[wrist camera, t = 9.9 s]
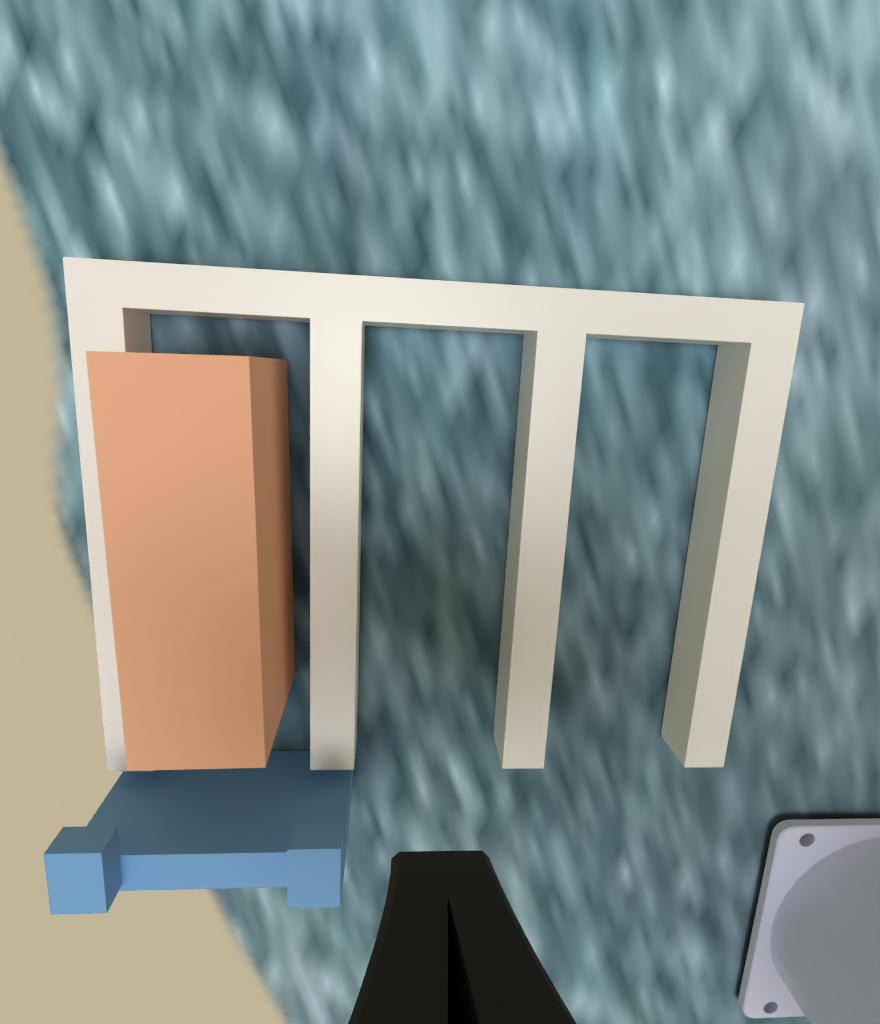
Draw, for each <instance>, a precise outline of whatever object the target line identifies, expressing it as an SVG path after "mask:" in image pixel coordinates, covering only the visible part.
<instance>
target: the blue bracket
mask: <svg viewBox="0 0 880 1024" xmlns="http://www.w3.org/2000/svg"><path fill="white" fill-rule="evenodd" d="M352 784H353V770H310V751H271V752H270V755H269V758H268V761H267V764H266V768H229V769H185V770H154V771H123V773H122V774H121V776H120V777H119V779H118V780H117V782H116V783H115V785H114V786H113V788H112V789H111V791H110V792H109V794H108V795H107V797H106V798H105V799H104V801H103V802H102V804H101V805H100V807H99V808H98V810H97V811H96V813H95V815H94V816H93V817H92V819H91V820H90V822H89V823H88V825H87V827H63V828H62V829H61V831H60V832H59V834H58V835H57V836H56V838H55V839H54V840H53V842H52V843H51V845H50V846H49V848H48V849H47V850H46V852H45V853H44V860H45V869H46V877H47V886H48V894H49V903H50V911H51V915H52V914H87V913H88V914H92V913H107V912H108V910H109V908H110V906H111V904H112V902H113V900H114V898H115V897H116V895H117V893H118V891H134V890H176V889H221V888H264V887H287V904H288V908H322V907H340V902H341V892H342V886H343V877H344V867H345V857H346V846H347V836H348V826H349V815H350V805H351V794H352Z"/></svg>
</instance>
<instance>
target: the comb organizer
mask: <svg viewBox="0 0 880 1024" xmlns="http://www.w3.org/2000/svg"><path fill="white" fill-rule="evenodd" d="M63 264H64V276H65V288H66V299H67V311H68V322H69V334H70V345H71V357H72V368H73V380H74V391H75V403H76V415H77V426H78V438H79V449H80V461H81V472H82V484H83V495H84V507H85V519H86V530H87V542H88V553H89V565H90V576H91V588H92V599H93V611H94V623H95V634H96V646H97V656H98V668H99V680H100V691H101V703H102V715H103V726H104V738H105V750H106V761H107V771H127V763H126V753H125V743H124V733H123V723H122V712H121V702H120V692H119V682H118V672H117V662H116V652H115V642H114V632H113V622H112V612H111V602H110V592H109V582H108V572H107V562H106V552H105V542H104V531H103V521H102V511H101V501H100V491H99V481H98V471H97V461H96V451H95V441H94V431H93V421H92V411H91V401H90V391H89V381H88V371H87V361H86V351H104V352H135V353H152V342H151V325H150V314H162V315H180V316H198V317H216V318H234V319H252V320H270V321H288V322H306V323H310V770H354V763H355V752H356V742H357V714H358V662H359V610H360V558H361V506H362V454H363V402H364V350H365V326H378V327H396V328H414V329H433V330H451V331H469V332H487V333H505V334H523V335H524V338H523V351H522V364H521V377H520V390H519V403H518V417H517V430H516V443H515V456H514V469H513V482H512V495H511V508H510V522H509V535H508V548H507V561H506V574H505V587H504V600H503V613H502V626H501V640H500V653H499V666H498V679H497V692H496V705H495V718H494V731H493V737H494V740H495V744H496V748H497V751H498V755H499V759H500V762H501V766H502V769H516V768H544V759H545V748H546V738H547V728H548V718H549V708H550V698H551V688H552V677H553V667H554V657H555V647H556V637H557V627H558V617H559V607H560V596H561V586H562V576H563V566H564V556H565V546H566V536H567V525H568V515H569V505H570V495H571V485H572V475H573V465H574V455H575V444H576V434H577V424H578V414H579V404H580V394H581V384H582V373H583V363H584V353H585V343H586V338H595V339H613V340H631V341H649V342H667V343H685V344H703V345H718V347H717V354H716V361H715V368H714V375H713V382H712V388H711V395H710V402H709V409H708V416H707V423H706V429H705V436H704V443H703V450H702V457H701V463H700V470H699V477H698V484H697V491H696V498H695V504H694V511H693V518H692V525H691V532H690V539H689V545H688V552H687V559H686V566H685V573H684V580H683V586H682V593H681V600H680V607H679V614H678V621H677V627H676V634H675V641H674V648H673V655H672V662H671V668H670V675H669V682H668V689H667V696H666V703H665V709H664V716H663V723H662V730H661V736H662V738H663V739H664V740H665V742H666V743H667V744H668V746H669V747H670V749H671V750H672V751H673V753H674V754H675V755H676V757H677V758H678V759H679V761H680V762H681V764H682V765H683V766H684V767H724V761H725V755H726V750H727V744H728V738H729V732H730V727H731V721H732V715H733V710H734V704H735V698H736V692H737V687H738V681H739V675H740V670H741V664H742V658H743V652H744V647H745V641H746V635H747V630H748V624H749V618H750V612H751V607H752V601H753V595H754V590H755V584H756V578H757V572H758V567H759V561H760V555H761V550H762V544H763V538H764V532H765V527H766V521H767V515H768V510H769V504H770V498H771V492H772V487H773V481H774V475H775V469H776V464H777V458H778V452H779V447H780V441H781V435H782V429H783V424H784V418H785V412H786V407H787V401H788V395H789V389H790V384H791V378H792V372H793V367H794V361H795V355H796V349H797V344H798V338H799V332H800V327H801V321H802V315H803V309H804V304H805V303H793V302H777V301H761V300H745V299H729V298H713V297H697V296H681V295H665V294H648V293H632V292H616V291H600V290H584V289H568V288H552V287H536V286H520V285H504V284H488V283H472V282H456V281H440V280H424V279H408V278H392V277H376V276H360V275H344V274H328V273H312V272H296V271H280V270H264V269H248V268H232V267H216V266H200V265H184V264H168V263H151V262H135V261H119V260H103V259H87V258H71V257H63ZM141 771H154V770H141Z"/></svg>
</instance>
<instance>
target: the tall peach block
mask: <svg viewBox="0 0 880 1024" xmlns="http://www.w3.org/2000/svg"><path fill="white" fill-rule="evenodd" d="M86 361H87V371H88V381H89V391H90V401H91V411H92V421H93V431H94V441H95V451H96V461H97V471H98V481H99V491H100V501H101V511H102V521H103V531H104V542H105V552H106V562H107V572H108V582H109V592H110V602H111V612H112V622H113V632H114V642H115V652H116V662H117V672H118V682H119V692H120V702H121V712H122V723H123V733H124V743H125V753H126V763H127V771H141V770H185V769H229V768H266V764H267V761H268V758H269V755H270V752H271V749H272V745H273V742H274V739H275V736H276V733H277V730H278V726H279V723H280V720H281V717H282V714H283V711H284V707H285V704H286V701H287V698H288V695H289V692H290V688H291V685H292V682H293V679H294V676H295V647H294V608H293V570H292V532H291V494H290V455H289V417H288V379H287V360H284V359H273V358H263V357H252V356H227V355H196V354H166V353H135V352H104V351H86Z"/></svg>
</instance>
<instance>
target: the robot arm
mask: <svg viewBox="0 0 880 1024" xmlns="http://www.w3.org/2000/svg"><path fill="white" fill-rule="evenodd" d="M804 834H805V835H804ZM803 835H804V836H803ZM738 1002H739V1005H740V1007H741V1009H742V1010H743V1012H744V1014H745V1015H746V1016H748V1017H750V1018H775V1017H797V1016H805V1017H806V1018H807V1020H808V1021H809V1023H810V1024H880V818H872V819H804V820H784V821H781V822H779V823H778V824H777V825H776V826H775V827H774V829H773V831H772V834H771V839H770V844H769V849H768V854H767V859H766V864H765V869H764V874H763V879H762V884H761V889H760V894H759V899H758V904H757V909H756V914H755V919H754V924H753V929H752V934H751V939H750V944H749V949H748V954H747V959H746V964H745V968H744V973H743V978H742V983H741V988H740V993H739V998H738ZM348 1024H576V1022H575V1020H574V1019H573V1017H572V1016H571V1014H570V1012H569V1011H568V1009H567V1007H566V1006H565V1004H564V1002H563V1001H562V999H561V997H560V995H559V994H558V992H557V990H556V988H555V987H554V985H553V983H552V982H551V980H550V978H549V976H548V975H547V973H546V971H545V969H544V968H543V966H542V964H541V962H540V961H539V959H538V957H537V955H536V954H535V952H534V950H533V948H532V946H531V944H530V943H529V941H528V939H527V937H526V935H525V933H524V931H523V929H522V927H521V925H520V923H519V922H518V920H517V918H516V916H515V914H514V912H513V910H512V908H511V906H510V904H509V902H508V900H507V898H506V895H505V893H504V891H503V889H502V887H501V885H500V883H499V880H498V878H497V876H496V873H495V871H494V869H493V866H492V864H491V861H490V859H489V857H488V856H487V855H486V854H485V853H484V852H483V851H422V852H399V853H398V854H396V855H395V856H394V857H393V858H392V859H391V874H390V881H389V887H388V893H387V898H386V903H385V907H384V911H383V915H382V919H381V923H380V927H379V931H378V934H377V938H376V942H375V945H374V948H373V951H372V954H371V958H370V961H369V964H368V967H367V970H366V973H365V977H364V980H363V983H362V986H361V989H360V992H359V995H358V998H357V1001H356V1004H355V1007H354V1010H353V1012H352V1015H351V1018H350V1020H349V1023H348Z"/></svg>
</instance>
